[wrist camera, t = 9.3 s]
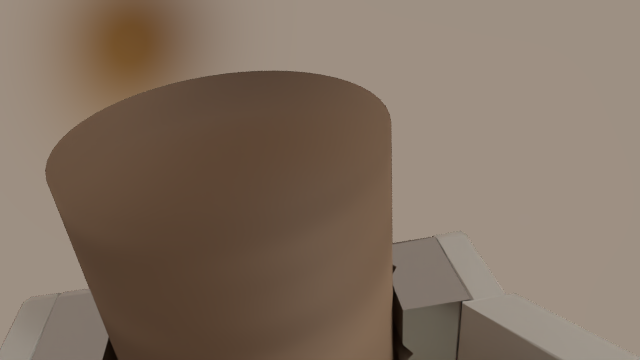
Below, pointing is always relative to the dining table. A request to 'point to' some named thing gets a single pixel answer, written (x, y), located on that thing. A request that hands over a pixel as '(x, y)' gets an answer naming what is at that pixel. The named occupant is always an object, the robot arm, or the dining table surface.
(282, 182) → the walnut dowel
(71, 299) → the robot arm
